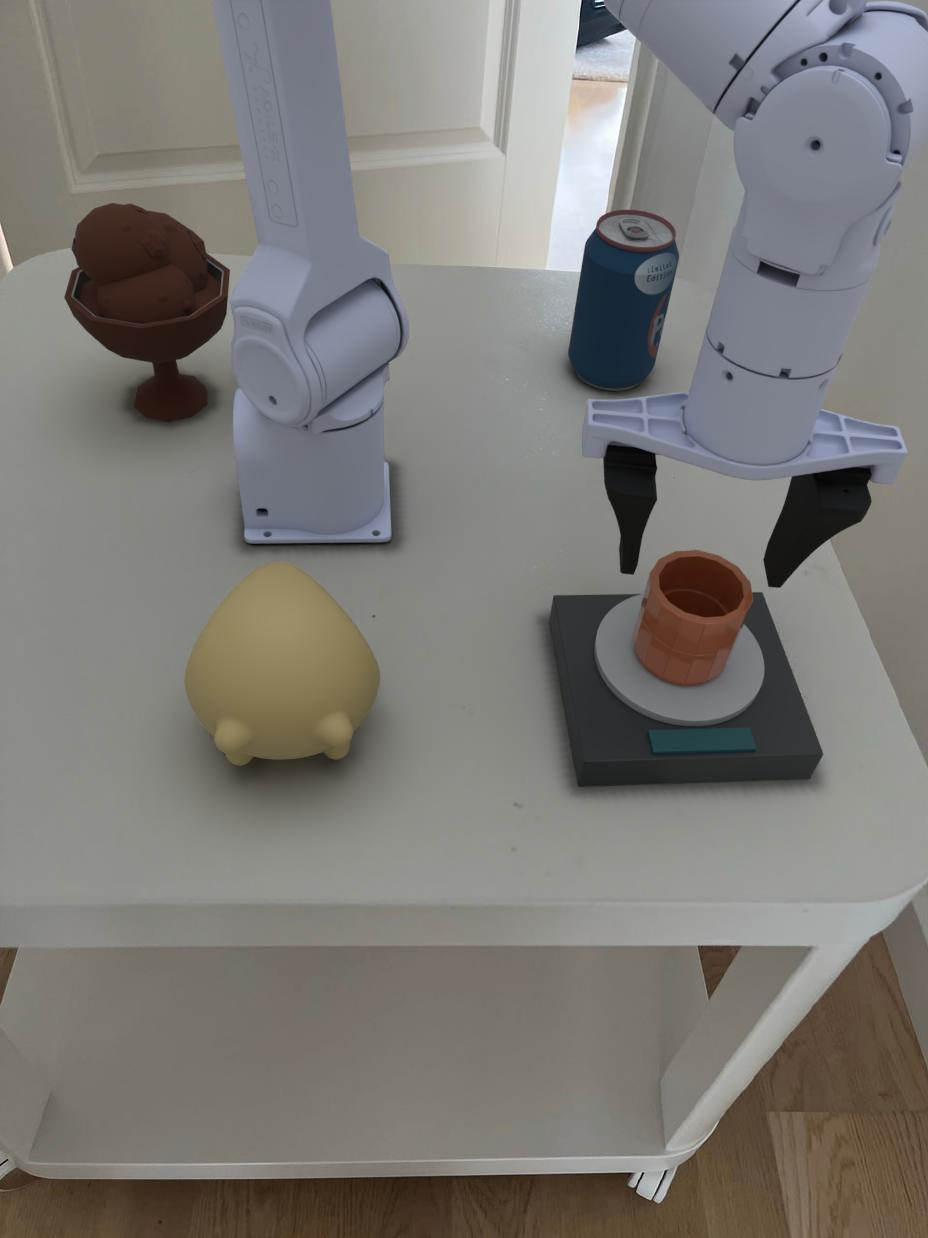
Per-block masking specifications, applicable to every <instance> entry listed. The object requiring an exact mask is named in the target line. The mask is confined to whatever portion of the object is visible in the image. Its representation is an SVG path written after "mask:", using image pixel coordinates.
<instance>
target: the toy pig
mask: <svg viewBox="0 0 928 1238" xmlns="http://www.w3.org/2000/svg"><path fill="white" fill-rule="evenodd" d="M183 681H184V690H185V693H186V697H187V700H188V702H189V705H190V707H191V709H192V710H193V713H194V715H195V716H196V718H197V720H198V721H199V722H200V724H201V725H202V726H203V728H204V729H205V730H206V731H207V732H208V733H209V734H210V735H211V736H212V737H213V740H214V745H215V747H216V748H217V749H218V750H219V751H221V752H222V753H225V756H226V759H227V760H228V761H229V763H231V764H232V765H235V766H238V767H239V766H241V767H242V766H245V765H247V764H248V763H250V761H252V759H253V758H259V759H265V760H296V759H303V758H307V757H311V756H316V755H318V754H321V753H323V754H324V755H325V756H326V757H327V758H328V759H330V760H334V761H336V760H337V761H338V760H341V759H344V758H345V757H346V756H347V755H348V754H349V752H350V749H351V740H352V738H353V736H354V733H355V732H356V731H357V730H358V728H359V727H360V726H361V725H362V724H363V723H364V721H365V720H366V718H367V716H368V715H369V714H370V711H371V710H372V707H373V705H374V703H375V701H376V699H377V696H378V692H379V688H380V683H381V671H380V666H379V663H378V661H377V659H376V656H375V654H374V651H373V650H372V647H370V645H369V643H368V641H367V640H366V638H365V636H364V634H363V633H362V632H361V630H360V629H359V627H358V625H356V623H355V622H354V621H353V620H352V618H351V617H350V616H349V614H348V613H347V612H346V611H345V610H344V608H343V607H342V606H341V605H340V604H339V603H338V602H337V600H336V599H335V598H334V597H333V595H331V594H330V593H329V592H328V591H327V590H326V588H324V586H323V585H321V583H319V582H318V581H317V580H316V579H315V578H313V577H312V576H311V575H310V574H309V573H307V572H306V571H305V570H303V569H302V568H300V567H298V566H296V565H295V564H293V563H290V562H288V561H284V560H275V561H270V562H267V563H265V564H263V565H261V566H259V567H257V568H256V569H254V570H253V571H251V572H250V573H248V574H247V575H246V576H245V577H244V578H242V580H240V582H238V583H237V584H236V585H235V586H234V587H233V589H232V590H230V592H228V594H227V595H226V597H225V598H224V599H223V600H222V601H221V602H220V604H219V605H218V606H217V608H216V609H215V610H214V611H213V612H212V615H211V616H210V617H209V619H208V620H207V622H206V624H204V627H203V628H202V629H201V632H200V633H199V635H198V636H197V639H196V641H195V642H194V644H193V647H192V649H191V651H190V654H189V657H188V660H187V663H186V666H185V671H184V679H183Z"/></svg>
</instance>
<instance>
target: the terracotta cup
mask: <svg viewBox="0 0 928 1238" xmlns="http://www.w3.org/2000/svg"><path fill="white" fill-rule="evenodd" d="M752 589H753V588H752V584H751V581H750V579H748V577H747V576H746V575H745V574H744V572H743V571H742V570H741V568H740V567H739V566H738V565H736V564H735V563H733V562H731V561H730V560H728V559H726V558H724V557H723V556H721V555H718V554H715V553H712V552H711V553H710V552H707V551H703V550H698V549H689V550H688V549H687V550H677V551H673V552H671V553H668V554H666V555H664V556H662V557H660V558H659V559H658V560H657V561H656V563H655V564H654V566H653V567H652V569H651V570H650V572H649V574H648V578H647V583H646V585H645V589H644V592H643V594H644V596H643V600H642V603H641V607H640V611H639V614H638V618H637V622H636V625H635V629H634V633H633V637H634V649H635V651H636V653H637V655H638V657H639V659H640V661H641V663H642V664H643V665H644V667H645V668H646V669H647V670H648V671H649V672H651V673H652V674H653V675H655V676H656V677H658V678H660V679H662V680H664V681H666V682H669V683H673V684H677V685H687V686H689V685H698V684H702V683H705V682H707V681H709V680H711V679H712V678H714V677H716V676H717V675H719V674H721V673H722V672H723V671H724V669H725V667H726V665H727V663H728V661H729V660H730V657H731V655H732V652H733V650H734V647H735V645H736V642H737V640H738V637H739V634H740V632H741V629H742V627H743V624H744V622H745V619H746V617H747V614H748V612H749V609H750V607H751V604H752V602H753V595H752V592H753V590H752Z"/></svg>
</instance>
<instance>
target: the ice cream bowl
mask: <svg viewBox="0 0 928 1238" xmlns="http://www.w3.org/2000/svg"><path fill="white" fill-rule="evenodd" d="M71 251H72V253H73V256H74V258H75V261H76V265H77V267H75V268H74V269H72V270H71V272H70V275H69V280H68V282H67V286H66V290H65V293H64V300H65V302H66V304H67V306H68V308H69V310H70V312H71V314H72V316H73V317H74V319H75V320H76V321H77V322H78V323H79V324H80V326H82V328H83V329H84V331H86V332H87V333H88V334H89V335H90V336H91V337H93V338H94V339H95V340H96V341H97V342H98V343H100V345H102V346H103V347H104V348H105V349H106V350H107V351H109V352H111V353H113V354H115V355H118V356H119V357H121V358H124V359H129V360H134V361H139V362H145V363H151V364H152V369H153V374H154V375H153V376H150V377H149V378H148V379H146V380H145V381H144V382H142V383H140V384H139V385H138V386H136V391H135V396H134V403H133V408H135V409H136V410H137V411H138V412H139V413H140V414H141V415H142V416H143V417H144V418H146V419H149V420H150V419H151V420H156V421H162V422H174V421H178V420H182V419H188V418H192V417H194V416H195V415H196V414H198V413H199V412H200V411H201V410H203V409H204V408H205V407H207V406H208V400H209V390H208V387H207V386H206V385H205V384H204V383H203V382H202V381H200V380H199V378H197V377H196V376H194V375H191V374H185V373H180V371H179V366H178V362H177V361H179V360H182V359H185V358H187V357H189V356H190V355H191V354H192V353H194V352H196V351H197V350H198V349H200V348H201V347H203V346H204V345H206V344H207V343H208V342H209V341H210V340H211V339H213V337H214V336H216V335H217V334H218V333H219V332H220V331H221V329H222V328H223V326H224V325H223V324H224V322H225V319H226V317H227V313H228V301H229V287H230V274H231V269H230V268H228V267H227V266H226V265H224V264H223V263H221V262H220V261H218V260H217V259H216V258H214V257H213V256H212V255H210V254H209V253H207V251H206V245H205V241H204V240H203V239H202V237H200V236H199V235H198V234H197V233H195V231H194V230H192V229H191V228H189V227H187V226H186V225H184V224H183V223H181V222H180V221H179V220H177V219H176V218H174V217H173V216H170V215H169V214H168V213H165V212H159V211H153V210H147V209H145V208H143V207H141V206H138V205H137V204H134V203H126V204H122V203H115V202H110V203H108V204H104V205H99V206H97V207H94V208H92V209H91V210H90V211H89V212H88V213H87V215H86V216H84V218H82V219H81V221H80V222H78V224H77V225H76V227H75V231H74V238H73V239H72V243H71Z"/></svg>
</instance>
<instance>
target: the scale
mask: <svg viewBox="0 0 928 1238" xmlns="http://www.w3.org/2000/svg"><path fill="white" fill-rule="evenodd" d="M752 595H753V602H752V604H751V607H750V609H749V612H748V614H747V617H746V619H745V622H744V624H743V627H742V629H741V632H740V634H739V637H738V640H737V642H736V645H735V647H734V650H733V652H732V655H731V657H730V660H729V661H728V663H727V665H726V667H725V669H724V671H723V672H722V673H721V674H719V675H717V676H716V677H714V678H712V679H711V680H709V681H707V682H705V683H702V684H698V685H689V686H687V685H677V684H673V683H669V682H666V681H664V680H662V679H660V678H658V677H656V676H655V675H653V674H652V673H651V672H649V671H648V670H647V669H646V668H645V667H644V665H643V664H642V663H641V661H640V659H639V657H638V655H637V653H636V651H635V649H634V637H633V633H634V629H635V625H636V622H637V618H638V614H639V611H640V607H641V603H642V600H643V596H644V593H620V594H619V593H618V594H615V593H614V594H554V595H553V596H552V601H551V607H550V611H549V612H550V613H549V618H548V625H549V631H550V637H551V643H552V647H553V653H554V659H555V664H556V671H557V676H558V682H559V687H560V693H561V698H562V705H563V710H564V715H565V716H564V717H565V721H566V728H567V732H568V738H569V744H570V749H571V755H572V761H573V766H574V774H575V778H576V785H577V787H602V786H603V787H604V786H629V785H630V786H631V785H633V786H634V785H636V786H637V785H661V784H662V785H664V784H691V783H692V784H693V783H694V784H695V783H722V782H723V783H725V782H726V783H727V782H753V781H754V782H757V781H784V780H786V781H787V780H809V779H811V778H812V776H813V774H814V773H815V771H816V769H817V767H818V765H819V764H820V762H821V760H822V758H823V756H824V752H823V749H822V747H821V744H820V741H819V738H818V736H817V732H816V731H815V728H814V725H813V722H812V720H811V718H810V715H809V711H808V709H807V707H806V704H805V701H804V699H803V696H802V694H801V691H800V689H799V685H798V682H797V680H796V678H795V674H794V672H793V669H792V667H791V664H790V662H789V659H788V656H787V653H786V651H785V648H784V646H783V643H782V640H781V638H780V636H779V633H778V630H777V627H776V625H775V621H774V620H773V618H772V613H771V612H770V609H769V606H768V604H767V600H766V598H765V596H764V592H762V591H752Z"/></svg>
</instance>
